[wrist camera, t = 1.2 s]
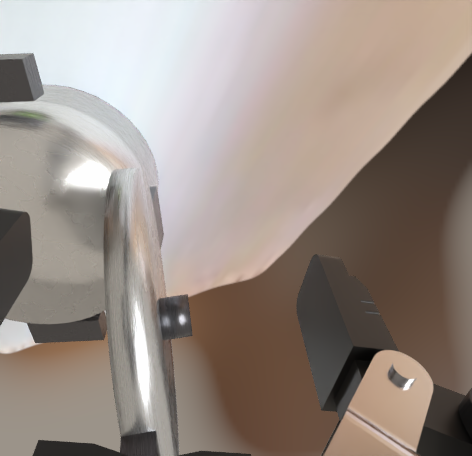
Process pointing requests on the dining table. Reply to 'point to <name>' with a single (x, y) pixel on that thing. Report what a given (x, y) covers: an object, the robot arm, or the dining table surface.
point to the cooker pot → (63, 195)
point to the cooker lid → (140, 319)
